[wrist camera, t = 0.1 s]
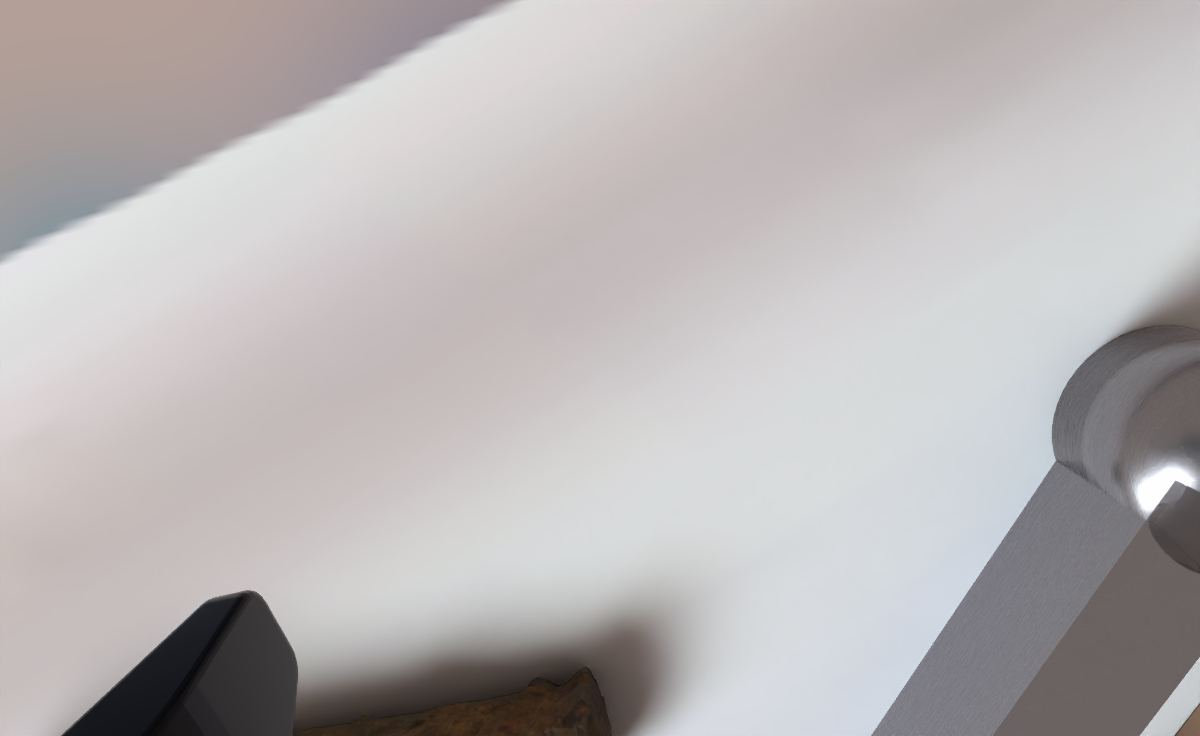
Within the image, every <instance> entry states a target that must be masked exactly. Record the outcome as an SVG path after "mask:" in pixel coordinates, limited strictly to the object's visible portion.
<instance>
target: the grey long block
mask: <svg viewBox="0 0 1200 736" xmlns="http://www.w3.org/2000/svg"><path fill="white" fill-rule="evenodd" d="M1052 443H1053V451H1054V455H1055V458H1056V462H1055V463H1054V465H1053V466H1052V468H1051V469H1050V471H1049V472H1048V474H1047V475H1046V477H1045V478H1044V480H1043V481H1042V483H1041V484H1040V486H1039V487H1038V489H1037V490H1036V492H1035V493H1034V494H1033V496H1032V497H1031V499H1030V500H1029V502H1028V503H1027V505H1026V506H1025V508H1024V509H1023V511H1022V512H1021V514H1020V515H1019V517H1018V518H1017V520H1016V521H1015V523H1014V524H1013V526H1012V527H1011V529H1010V530H1009V532H1008V533H1007V535H1006V536H1005V538H1004V539H1003V541H1002V542H1001V544H1000V545H999V547H998V548H997V550H996V551H995V553H994V554H993V556H992V557H991V558H990V560H989V561H988V563H987V564H986V566H985V567H984V569H983V570H982V572H981V573H980V575H979V576H978V578H977V579H976V581H975V582H974V584H973V585H972V587H971V588H970V590H969V591H968V593H967V594H966V596H965V597H964V599H963V600H962V602H961V603H960V605H959V606H958V608H957V609H956V611H955V612H954V614H953V615H952V617H951V618H950V620H949V621H948V622H947V624H946V625H945V627H944V628H943V630H942V631H941V633H940V634H939V636H938V637H937V639H936V640H935V642H934V643H933V645H932V646H931V648H930V649H929V651H928V652H927V654H926V655H925V657H924V658H923V660H922V661H921V663H920V664H919V666H918V667H917V669H916V670H915V672H914V673H913V675H912V676H911V678H910V679H909V681H908V682H907V684H906V685H905V687H904V688H903V689H902V691H901V692H900V694H899V695H898V697H897V698H896V700H895V701H894V703H893V704H892V706H891V707H890V709H889V710H888V712H887V713H886V715H885V716H884V718H883V719H882V721H881V722H880V724H879V725H878V727H877V728H876V730H875V731H874V733H873V734H872V736H1140V734H1141V733H1142V732H1143V730H1144V729H1145V728H1146V726H1147V725H1148V724H1149V722H1150V721H1151V720H1152V719H1153V717H1154V716H1155V715H1156V713H1157V712H1158V711H1159V709H1160V708H1161V707H1162V705H1163V704H1164V703H1165V702H1166V700H1167V699H1168V698H1169V696H1170V695H1171V694H1172V692H1173V691H1174V690H1175V688H1176V687H1177V686H1178V685H1179V683H1180V682H1181V681H1182V679H1183V678H1184V677H1185V675H1186V674H1187V673H1188V671H1189V670H1190V669H1191V668H1192V666H1193V665H1194V664H1195V662H1196V661H1197V660H1198V658H1199V657H1200V331H1199V330H1195V329H1191V328H1188V327H1181V326H1153V327H1147V328H1143V329H1139V330H1135V331H1132V332H1130V333H1127V334H1124V335H1122V336H1120V337H1118V338H1116V339H1114V340H1112V341H1110V342H1108V343H1107V344H1106V345H1104V346H1103V347H1101V348H1100V349H1098V350H1097V351H1096V352H1094V353H1093V354H1092V355H1091V356H1090V357H1089V358H1087V359H1086V360H1085V362H1084V363H1083V364H1082V365H1081V366H1080V367H1079V368H1078V369H1077V370H1076V372H1075V373H1074V374H1073V376H1072V377H1071V378H1070V380H1069V381H1068V383H1067V385H1066V387H1065V388H1064V390H1063V392H1062V394H1061V397H1060V399H1059V401H1058V404H1057V407H1056V411H1055V414H1054V419H1053V426H1052Z"/></svg>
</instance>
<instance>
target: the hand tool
mask: <svg viewBox="0 0 1200 736" xmlns="http://www.w3.org/2000/svg"><path fill="white" fill-rule="evenodd" d="M292 736H612V735H611V728H610V724H609V720H608V716H607V712H606V706H605V701H604V697H603V696H601V693H600V691H599V688H598V685H597V682H596V680H595V678H594V676H593V674H592V672H591V671H590V669H589V668H587V667H585V668H582V669H581V670H580V671H578V672H577V673H576V674H575V675H574V676H573V678H572V679H571V680H570V681H569V682H568V683H567V684H566V685H563V686H560V687H558V686H557V685H555V684H553V683H552V682H549V681H546V680H543V679H540V678H537V679H535V680H533V681H532V682H530V684H529V686H528V687H526V688H525V689H524V690H523V692H520V693H516V694H512V695H507V696H502V697H498V698H493V699H489V700H483V701H473V702H464V703H457V704H453V705H449V706H445V707H439V708H434V709H432V710H430V711H428V712H423V713H417V714H409V715H401V716H394V717H388V718H382V719H377V718H374V717H370V716H363V717H361V718H360V719H358V720H357V721H355V722H353V723H348V724H342V725H337V726H330V727H321V728H312V729H309V730H305V731H302V732H299V733H293V735H292Z"/></svg>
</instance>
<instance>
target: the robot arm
mask: <svg viewBox="0 0 1200 736" xmlns="http://www.w3.org/2000/svg"><path fill="white" fill-rule="evenodd" d="M297 682H298V666H297V661H296V657H295V654H294V651H293V649H292V647H291V645H290V643H289V642H288V640H287V638H286V636H285V635H284V633H283V631H282V629H281V628H280V626H279V624H278V622H277V621H276V619H275V617H274V615H273V614H272V612H271V610H270V608H269V607H268V605H267V603H266V602H265V600H264V599H263V597H262V596H261V595H259V594H258V593H257V592H255V591H250V590H246V591H241V592H237V593H233V594H228V595H224V596H219V597H215V598H212V599H210V600H208V601H206V602H205V603H203V604H202V605H201V606H200V607H199V608H198V609H197V610H196V611H195V612H194V613H193V614H191V615H190V616H189V617H188V618H187V619H186V620H185V621H184V622H183V623H182V624H181V625H180V626H179V627H177V628H176V629H175V630H174V631H173V632H172V633H171V634H170V635H169V636H168V637H167V638H166V639H165V640H164V641H162V642H161V643H160V644H159V645H158V646H157V647H156V648H155V649H154V650H153V651H152V652H151V653H150V654H148V655H147V656H146V657H145V658H144V659H143V660H142V661H141V662H140V663H139V664H138V665H137V666H136V667H134V668H133V669H132V670H131V671H130V672H129V673H128V674H127V675H126V676H125V677H124V678H123V679H122V680H121V681H119V682H118V683H117V684H116V685H115V686H114V687H113V688H112V689H111V690H110V691H109V692H108V693H107V694H105V695H104V696H103V697H102V698H101V699H100V700H99V701H98V702H97V703H96V704H95V705H94V706H93V707H92V708H90V709H89V710H88V711H87V712H86V713H85V714H84V715H83V716H82V717H81V718H80V719H79V720H78V721H76V722H75V723H74V724H73V725H72V726H71V727H70V728H69V729H68V730H67V731H66V732H65V733H64V734H62V735H61V736H292V735H293V725H294V714H295V704H296V693H297Z"/></svg>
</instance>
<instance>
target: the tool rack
mask: <svg viewBox="0 0 1200 736" xmlns="http://www.w3.org/2000/svg"><path fill="white" fill-rule="evenodd" d="M1176 736H1200V705H1199V706H1198V707H1197V709H1196V710H1195V711H1194V713H1193V714H1192V715H1191V716H1190V718H1189V719H1188V720H1187V722H1186V723H1185V724H1184V725H1183V727H1182V728H1181V729H1180V731H1179V732H1178V733H1177V734H1176Z"/></svg>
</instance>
